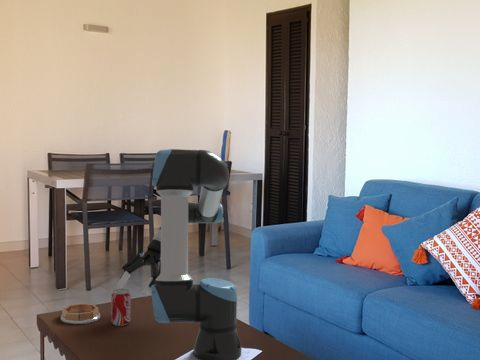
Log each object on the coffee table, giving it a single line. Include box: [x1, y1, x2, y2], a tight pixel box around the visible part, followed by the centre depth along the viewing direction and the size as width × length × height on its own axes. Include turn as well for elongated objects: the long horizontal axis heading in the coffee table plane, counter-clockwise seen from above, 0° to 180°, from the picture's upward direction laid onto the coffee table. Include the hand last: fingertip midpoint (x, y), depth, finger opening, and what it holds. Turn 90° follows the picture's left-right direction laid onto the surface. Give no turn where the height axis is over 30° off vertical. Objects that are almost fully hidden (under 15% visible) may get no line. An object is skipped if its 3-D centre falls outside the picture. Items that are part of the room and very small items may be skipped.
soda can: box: [110, 288, 132, 327], centre depth 215 cm, size 7×7×12 cm
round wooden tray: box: [60, 302, 101, 325], centre depth 221 cm, size 14×14×4 cm
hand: (131, 291), depth 220 cm, fingers open, 13 cm apart
